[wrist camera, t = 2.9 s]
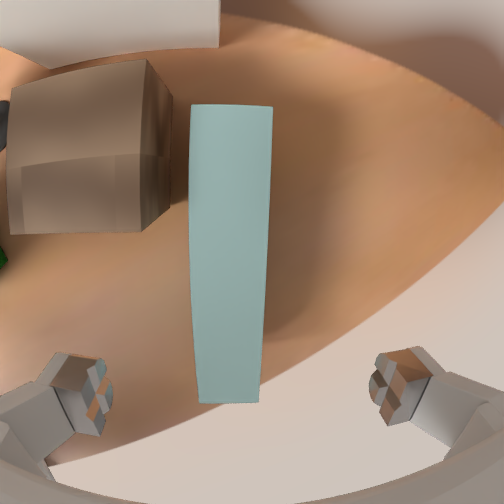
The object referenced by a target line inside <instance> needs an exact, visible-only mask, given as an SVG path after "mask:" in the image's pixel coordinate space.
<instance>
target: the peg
mask: <svg viewBox="0 0 504 504" xmlns="http://www.w3.org/2000/svg"><path fill="white" fill-rule="evenodd" d="M272 122H273V107H270V106H253V105H225V104H193V105H191V118H190V144H189V261H190V288H191V308H192V325H193V340H194V353H195V365H196V376H197V387H198V397H199V403H209V404H219V403H255V402H258V401H259V387H260V372H261V356H262V340H263V323H264V305H265V287H266V267H267V247H268V226H269V203H270V178H271V151H272Z"/></svg>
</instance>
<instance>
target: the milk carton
mask: <svg viewBox="0 0 504 504" xmlns="http://www.w3.org/2000/svg"><path fill="white" fill-rule="evenodd" d="M7 261H8V260H7V258H6V256H5V254H4V252H3V251H2V249H1V247H0V269H1V268H2V267H3V265H4V264H5V263H6V262H7Z"/></svg>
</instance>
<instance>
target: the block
mask: <svg viewBox="0 0 504 504" xmlns="http://www.w3.org/2000/svg"><path fill="white" fill-rule="evenodd" d="M172 102H173V96H172V95H171V93H170V92H169V90H168V89H167V87H166V86H165V85H164V83H163V82H162V80H161V79H160V77H159V76H158V75H157V73H156V72H155V70H154V69H153V67H152V66H151V65H150V63H149V62H148V60H147V59H141V60H132V61H125V62H118V63H111V64H105V65H99V66H94V67H89V68H84V69H79V70H75V71H70V72H66V73H62V74H58V75H54V76H50V77H47V78H43V79H40V80H37V81H33V82H30V83H27V84H24V85H21V86H18V87H15V88H12V91H11V99H10V107H9V116H8V128H7V147H6V186H7V205H8V217H9V227H10V235H17V234H51V233H99V232H142V231H143V230H144V229H145V228H146V227H148V226H149V225H150V224H151V223H152V222H153V221H155V220H156V219H157V218H158V217H159V216H161V215H162V214H163V213H164V212H165V211H167V210H168V209H169V208H170V146H171V120H172Z"/></svg>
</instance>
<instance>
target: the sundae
mask: <svg viewBox="0 0 504 504" xmlns="http://www.w3.org/2000/svg"><path fill="white" fill-rule="evenodd" d="M9 107H10V104H9V103H7V102H5V101H0V151H1V150H2V149H3V148H4V147H5V146H6V144H7V128H8V116H9Z"/></svg>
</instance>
